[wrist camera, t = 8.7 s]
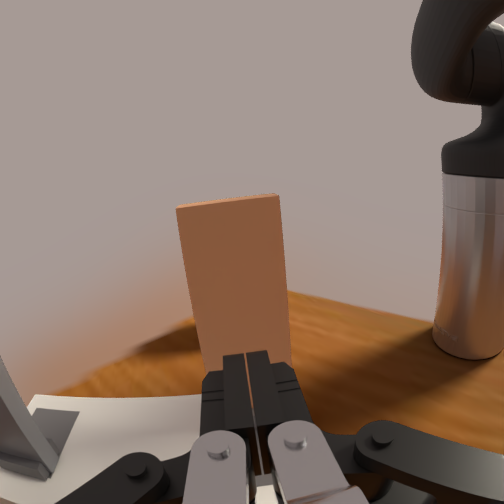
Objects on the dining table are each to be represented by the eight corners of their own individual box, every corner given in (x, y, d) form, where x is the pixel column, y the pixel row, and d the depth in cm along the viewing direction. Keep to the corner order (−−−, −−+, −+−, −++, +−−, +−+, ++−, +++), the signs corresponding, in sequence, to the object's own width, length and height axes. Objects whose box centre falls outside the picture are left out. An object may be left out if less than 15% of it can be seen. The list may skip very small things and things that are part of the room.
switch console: (297, 408, 23) (297, 380, 23) (338, 531, 12) (344, 511, 11) (48, 418, 22) (35, 393, 21) (3, 511, 10) (-21, 487, 10)
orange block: (287, 393, 21) (271, 192, 17) (296, 421, 18) (282, 197, 14) (218, 403, 21) (181, 203, 17) (218, 432, 18) (173, 210, 14)
